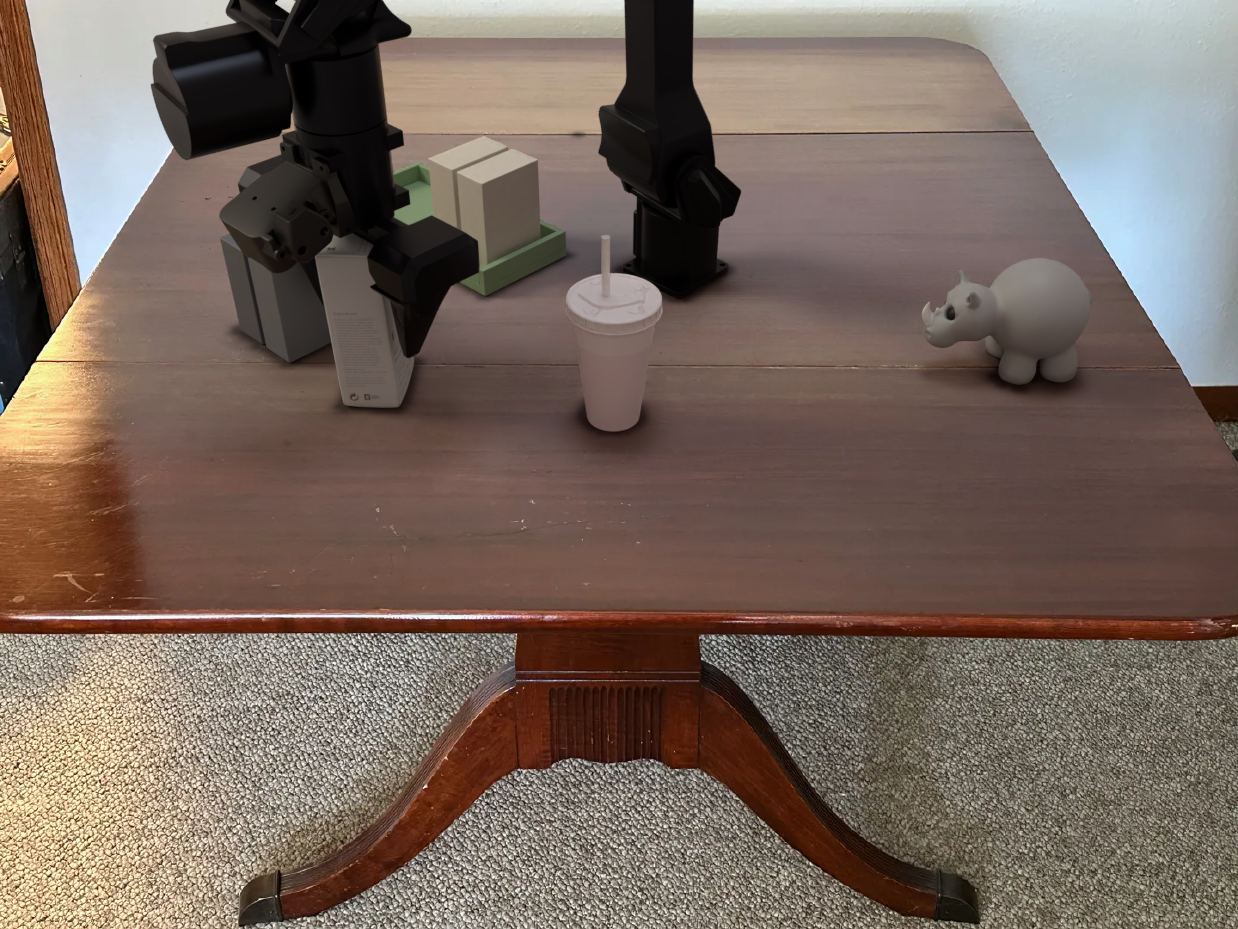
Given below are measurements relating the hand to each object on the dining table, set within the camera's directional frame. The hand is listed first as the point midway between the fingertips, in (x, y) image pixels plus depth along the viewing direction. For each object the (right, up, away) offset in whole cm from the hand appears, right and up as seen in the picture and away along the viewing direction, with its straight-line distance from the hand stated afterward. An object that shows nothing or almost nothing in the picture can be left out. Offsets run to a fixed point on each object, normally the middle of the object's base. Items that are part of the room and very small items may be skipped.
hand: (370, 329), depth 85 cm
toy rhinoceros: (+45, -2, +5) cm, 46 cm away
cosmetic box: (0, -4, +3) cm, 5 cm away
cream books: (+7, +8, +17) cm, 20 cm away
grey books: (-7, +1, +8) cm, 11 cm away
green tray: (+3, +10, +20) cm, 23 cm away
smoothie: (+17, -6, 0) cm, 18 cm away
